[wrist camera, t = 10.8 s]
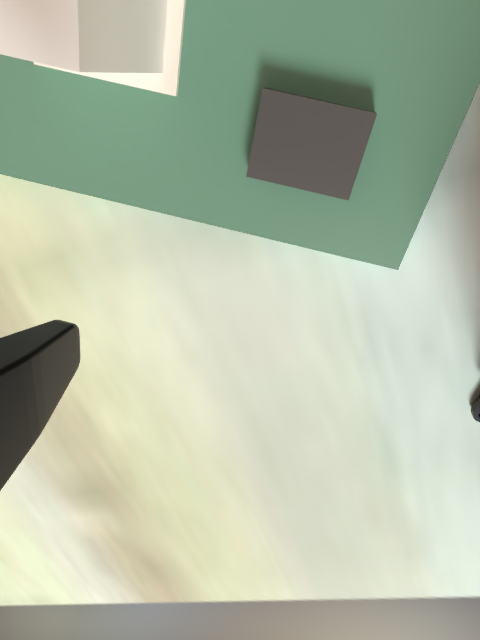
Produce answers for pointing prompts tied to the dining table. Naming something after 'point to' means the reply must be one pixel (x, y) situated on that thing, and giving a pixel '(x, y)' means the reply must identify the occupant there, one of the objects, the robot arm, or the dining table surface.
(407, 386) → the dining table surface
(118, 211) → the dining table surface
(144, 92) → the board
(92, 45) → the block
